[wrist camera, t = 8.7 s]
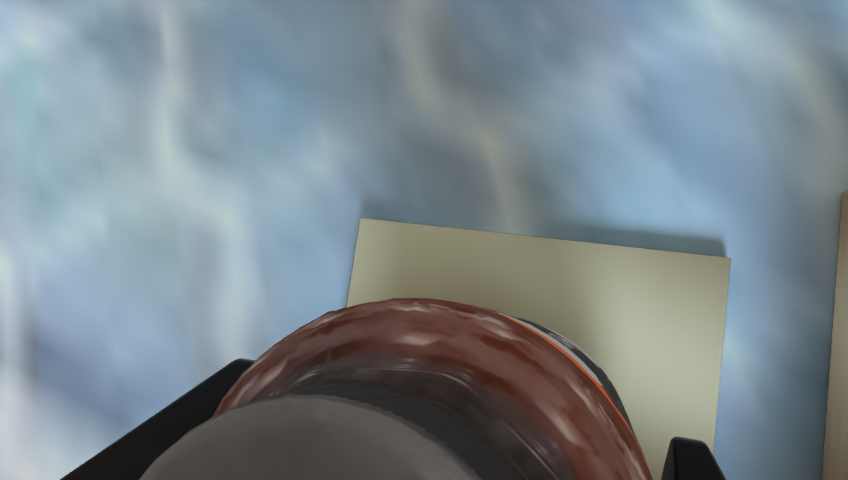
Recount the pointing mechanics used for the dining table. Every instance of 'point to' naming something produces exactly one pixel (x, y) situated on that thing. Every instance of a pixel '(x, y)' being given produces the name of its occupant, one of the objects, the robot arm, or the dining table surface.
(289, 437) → the supplement bottle
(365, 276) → the arena
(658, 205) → the dining table surface
